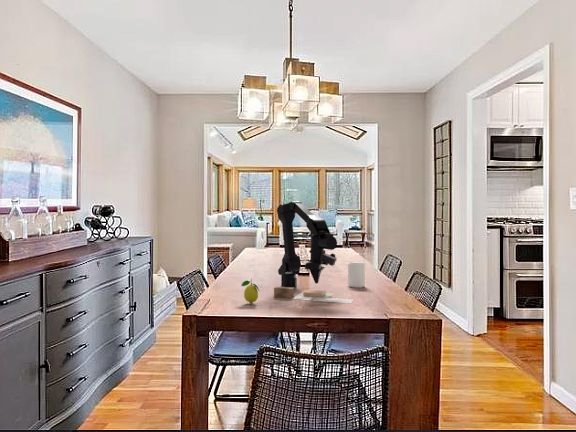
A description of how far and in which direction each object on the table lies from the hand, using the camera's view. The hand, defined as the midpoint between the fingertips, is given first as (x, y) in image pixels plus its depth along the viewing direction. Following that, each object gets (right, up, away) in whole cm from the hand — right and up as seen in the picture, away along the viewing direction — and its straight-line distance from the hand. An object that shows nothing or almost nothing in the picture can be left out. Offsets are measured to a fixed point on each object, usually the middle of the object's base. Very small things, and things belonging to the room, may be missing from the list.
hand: (316, 283), depth 227 cm
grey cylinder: (+20, -5, +23) cm, 31 cm away
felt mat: (-1, -5, -2) cm, 5 cm away
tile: (0, -4, +1) cm, 4 cm away
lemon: (-27, -6, -21) cm, 35 cm away
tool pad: (+6, -6, -14) cm, 16 cm away
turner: (-10, -5, -10) cm, 15 cm away
